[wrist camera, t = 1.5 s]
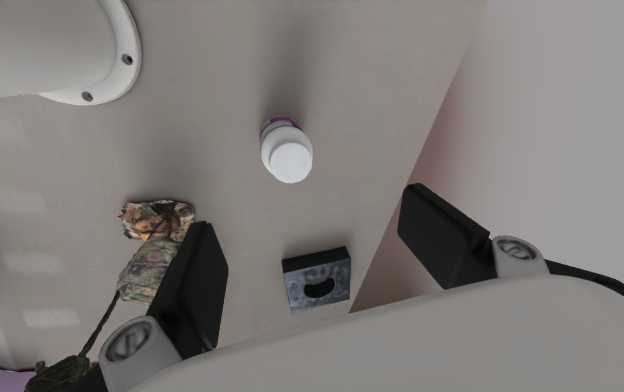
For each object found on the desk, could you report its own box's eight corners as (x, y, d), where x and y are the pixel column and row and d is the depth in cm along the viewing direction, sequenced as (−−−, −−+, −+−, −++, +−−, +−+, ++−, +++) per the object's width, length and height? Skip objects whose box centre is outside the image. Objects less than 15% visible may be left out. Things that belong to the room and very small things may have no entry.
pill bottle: (305, 149, 30) (325, 180, 22) (268, 161, 30) (273, 197, 21) (295, 108, 27) (312, 126, 19) (252, 121, 27) (252, 145, 18)
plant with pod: (204, 251, 35) (157, 425, 18) (117, 233, 30) (-57, 446, 13) (221, 211, 32) (184, 373, 15) (127, 184, 27) (-78, 376, 10)
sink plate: (281, 260, 39) (283, 273, 37) (345, 246, 41) (351, 258, 39) (289, 300, 46) (291, 314, 43) (344, 286, 47) (349, 299, 45)
